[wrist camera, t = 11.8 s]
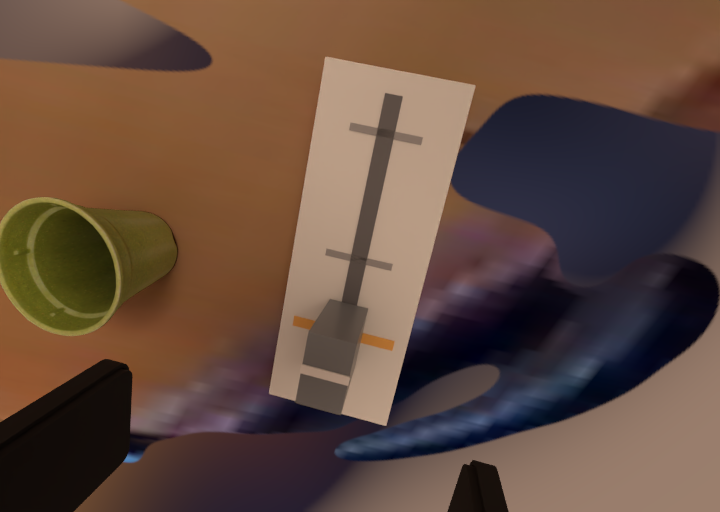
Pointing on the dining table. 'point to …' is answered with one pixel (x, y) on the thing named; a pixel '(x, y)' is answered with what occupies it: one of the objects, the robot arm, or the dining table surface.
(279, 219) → the dining table surface
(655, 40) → the dining table surface
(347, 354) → the fader
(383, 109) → the console
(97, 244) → the plant pot
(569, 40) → the dining table surface
